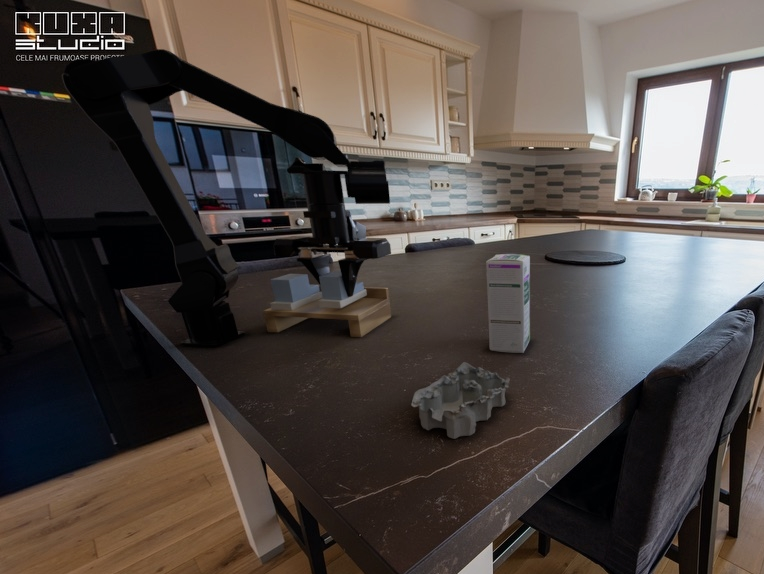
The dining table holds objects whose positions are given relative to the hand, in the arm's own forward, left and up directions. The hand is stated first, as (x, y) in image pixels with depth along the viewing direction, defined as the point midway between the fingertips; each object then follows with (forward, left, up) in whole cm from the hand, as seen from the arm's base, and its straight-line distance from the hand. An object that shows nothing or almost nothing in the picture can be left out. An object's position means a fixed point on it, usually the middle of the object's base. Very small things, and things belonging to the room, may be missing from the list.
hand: (340, 296), depth 71 cm
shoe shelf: (-3, +2, -6) cm, 7 cm away
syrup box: (+32, -4, -6) cm, 33 cm away
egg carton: (+30, -25, -6) cm, 39 cm away
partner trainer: (-9, +1, -2) cm, 10 cm away
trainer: (0, 0, -1) cm, 1 cm away
